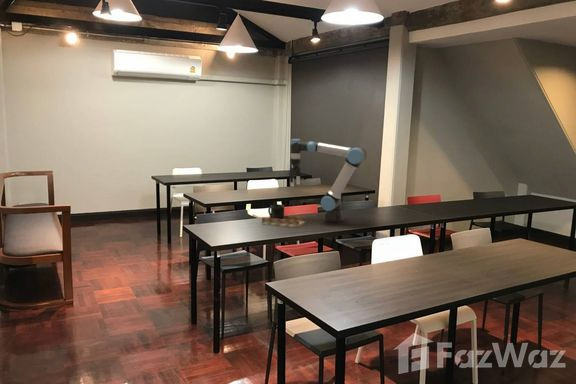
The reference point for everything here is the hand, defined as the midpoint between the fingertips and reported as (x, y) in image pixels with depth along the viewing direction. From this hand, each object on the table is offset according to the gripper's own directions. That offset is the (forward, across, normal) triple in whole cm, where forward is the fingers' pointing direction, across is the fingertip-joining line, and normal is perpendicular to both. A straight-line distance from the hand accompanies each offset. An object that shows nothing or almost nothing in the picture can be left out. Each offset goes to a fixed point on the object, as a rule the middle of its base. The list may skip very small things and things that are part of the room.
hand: (295, 185), depth 371 cm
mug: (+27, +14, -11) cm, 32 cm away
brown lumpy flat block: (+29, +14, -4) cm, 32 cm away
